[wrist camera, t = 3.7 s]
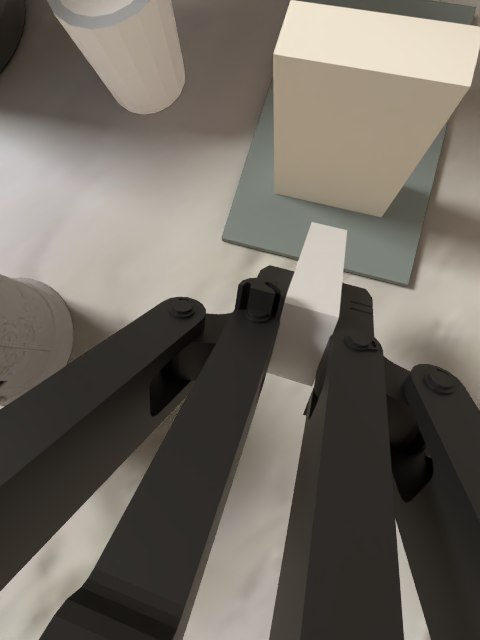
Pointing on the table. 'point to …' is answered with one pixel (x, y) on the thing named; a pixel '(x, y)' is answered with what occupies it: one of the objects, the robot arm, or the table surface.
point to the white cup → (128, 48)
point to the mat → (362, 229)
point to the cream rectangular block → (362, 100)
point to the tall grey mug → (31, 335)
